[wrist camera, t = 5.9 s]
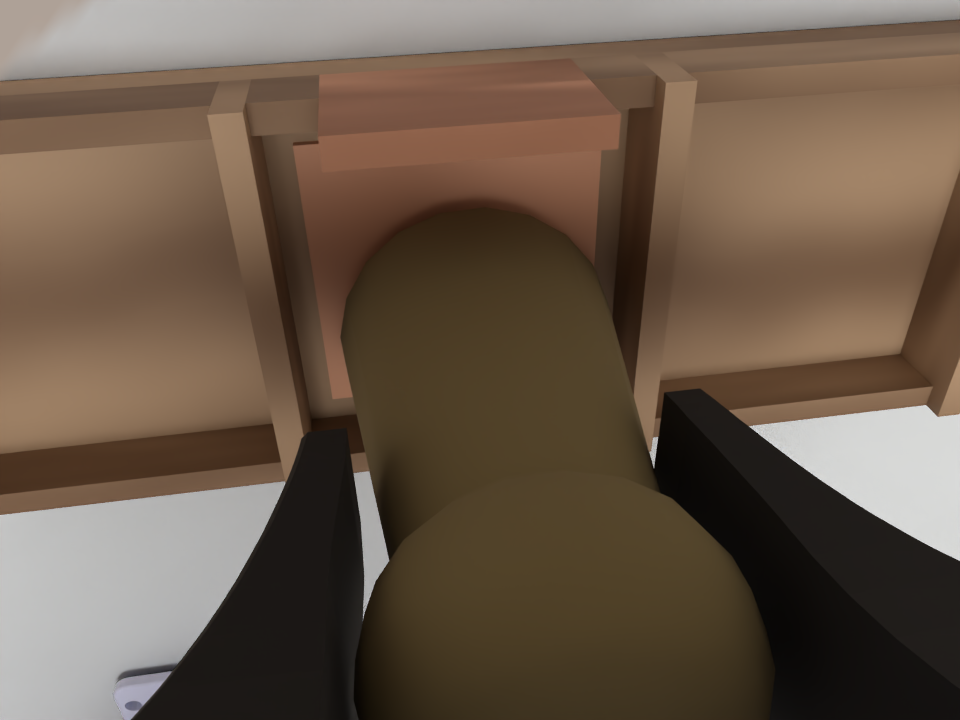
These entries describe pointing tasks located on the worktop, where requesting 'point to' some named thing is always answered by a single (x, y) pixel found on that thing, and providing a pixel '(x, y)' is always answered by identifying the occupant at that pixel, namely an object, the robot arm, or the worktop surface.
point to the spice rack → (460, 186)
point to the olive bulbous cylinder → (527, 499)
